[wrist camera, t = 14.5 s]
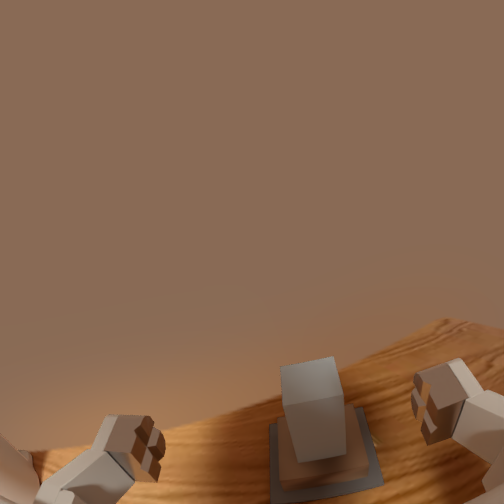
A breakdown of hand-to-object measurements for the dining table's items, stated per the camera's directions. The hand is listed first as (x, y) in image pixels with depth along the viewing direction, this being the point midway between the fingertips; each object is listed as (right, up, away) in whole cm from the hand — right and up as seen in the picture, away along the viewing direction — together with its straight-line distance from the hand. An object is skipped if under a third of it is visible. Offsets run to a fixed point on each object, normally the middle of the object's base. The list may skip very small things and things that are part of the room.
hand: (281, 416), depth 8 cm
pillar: (+6, -15, +21) cm, 27 cm away
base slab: (+7, -18, +22) cm, 29 cm away
